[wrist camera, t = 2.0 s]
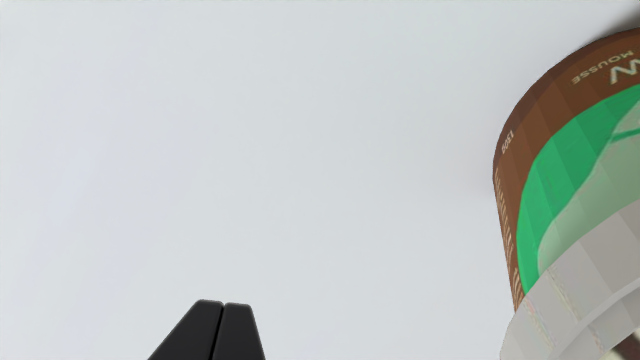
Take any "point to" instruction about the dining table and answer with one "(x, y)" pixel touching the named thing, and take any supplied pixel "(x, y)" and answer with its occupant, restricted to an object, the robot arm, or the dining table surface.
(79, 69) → the dining table surface
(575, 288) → the food container
